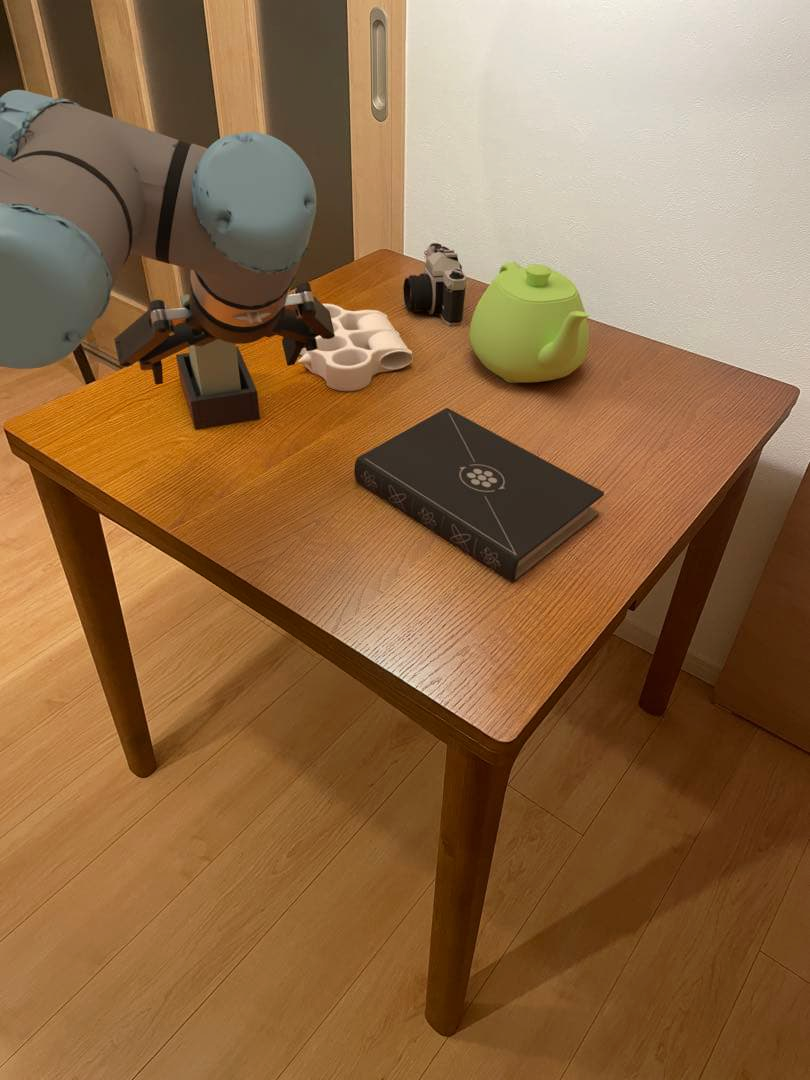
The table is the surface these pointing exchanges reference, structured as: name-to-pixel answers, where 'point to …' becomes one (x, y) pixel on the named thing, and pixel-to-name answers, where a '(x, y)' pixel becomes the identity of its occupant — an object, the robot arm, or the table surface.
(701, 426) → the table surface
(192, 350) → the grey-green lidded box
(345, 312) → the knuckle duster
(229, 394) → the socket
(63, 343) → the robot arm
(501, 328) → the teapot
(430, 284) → the camera
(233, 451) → the table surface
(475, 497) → the book
